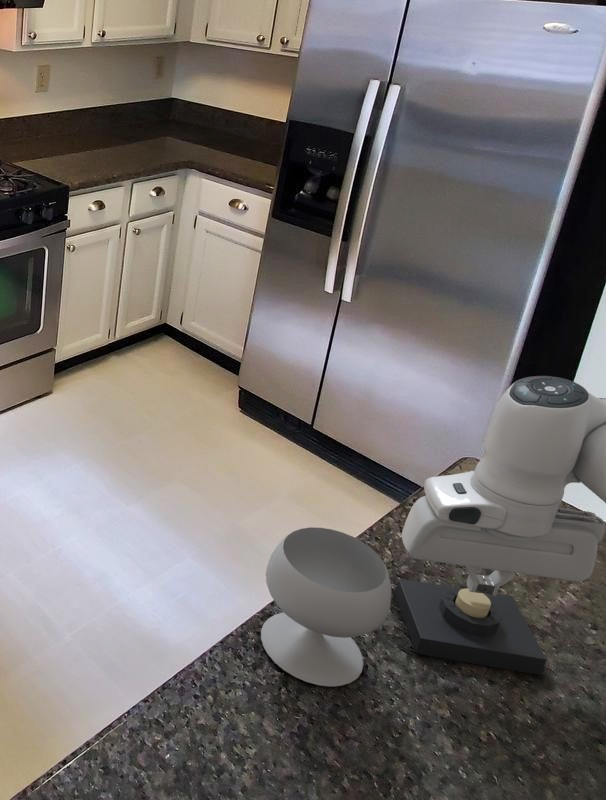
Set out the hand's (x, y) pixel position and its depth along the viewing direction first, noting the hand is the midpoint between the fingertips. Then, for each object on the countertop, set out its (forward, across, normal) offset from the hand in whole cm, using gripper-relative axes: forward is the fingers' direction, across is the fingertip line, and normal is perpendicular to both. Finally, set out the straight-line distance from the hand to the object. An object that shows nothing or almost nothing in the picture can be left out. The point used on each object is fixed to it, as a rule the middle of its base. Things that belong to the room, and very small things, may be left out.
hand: (480, 590), depth 102 cm
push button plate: (+7, 0, 0) cm, 7 cm away
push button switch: (+3, 0, 0) cm, 3 cm away
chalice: (+7, +20, +8) cm, 23 cm away
